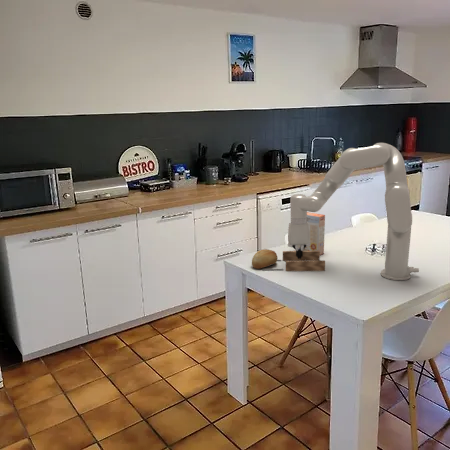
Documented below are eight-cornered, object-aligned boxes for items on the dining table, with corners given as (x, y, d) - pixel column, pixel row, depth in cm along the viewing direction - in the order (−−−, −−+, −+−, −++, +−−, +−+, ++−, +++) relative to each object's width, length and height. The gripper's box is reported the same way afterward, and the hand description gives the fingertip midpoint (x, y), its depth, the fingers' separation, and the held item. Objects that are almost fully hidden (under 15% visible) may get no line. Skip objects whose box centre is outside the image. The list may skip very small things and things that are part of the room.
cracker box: (324, 253, 232) (325, 214, 227) (318, 256, 228) (319, 216, 222) (301, 248, 241) (302, 210, 236) (295, 251, 237) (295, 212, 232)
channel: (318, 259, 224) (319, 250, 222) (324, 270, 208) (325, 261, 207) (282, 259, 224) (282, 251, 223) (285, 271, 209) (286, 261, 208)
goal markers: (280, 260, 223) (280, 259, 223) (283, 270, 210) (283, 269, 210) (260, 260, 224) (260, 259, 224) (262, 270, 210) (262, 269, 210)
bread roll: (283, 264, 218) (283, 248, 216) (262, 272, 208) (262, 255, 206) (268, 259, 225) (268, 244, 223) (247, 267, 215) (247, 251, 213)
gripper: (313, 218, 214) (313, 254, 218) (282, 219, 215) (282, 256, 219) (316, 221, 207) (316, 259, 211) (283, 223, 207) (284, 261, 212)
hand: (299, 257), depth 215 cm, fingers closed
